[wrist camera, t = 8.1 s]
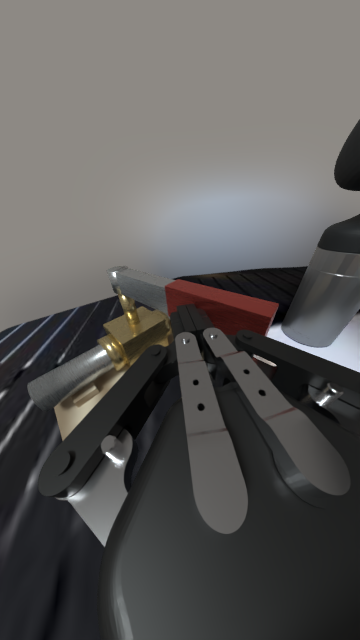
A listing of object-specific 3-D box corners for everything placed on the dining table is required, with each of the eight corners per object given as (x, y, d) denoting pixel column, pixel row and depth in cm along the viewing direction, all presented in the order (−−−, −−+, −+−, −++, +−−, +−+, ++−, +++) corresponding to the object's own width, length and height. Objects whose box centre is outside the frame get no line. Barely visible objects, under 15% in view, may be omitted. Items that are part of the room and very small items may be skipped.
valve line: (181, 312, 39) (178, 264, 32) (202, 322, 35) (204, 269, 28) (50, 392, 23) (-20, 331, 15) (59, 428, 19) (-30, 369, 11)
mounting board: (175, 313, 42) (175, 305, 40) (210, 331, 35) (211, 322, 33) (52, 387, 25) (42, 377, 24) (70, 449, 18) (58, 442, 16)
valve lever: (110, 292, 21) (102, 269, 19) (127, 285, 23) (120, 263, 21) (255, 359, 10) (269, 321, 8) (266, 337, 12) (280, 301, 10)
